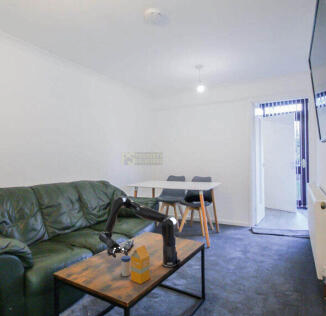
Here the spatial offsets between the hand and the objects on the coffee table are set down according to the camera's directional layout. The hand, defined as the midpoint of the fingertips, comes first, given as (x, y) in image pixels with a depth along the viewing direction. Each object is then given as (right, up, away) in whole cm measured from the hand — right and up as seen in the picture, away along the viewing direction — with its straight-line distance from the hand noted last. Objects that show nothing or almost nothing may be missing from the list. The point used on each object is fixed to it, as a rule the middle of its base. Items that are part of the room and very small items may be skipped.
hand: (121, 255), depth 167 cm
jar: (+4, -9, -9) cm, 13 cm away
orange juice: (+13, -9, -16) cm, 22 cm away
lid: (+4, +2, -9) cm, 9 cm away
